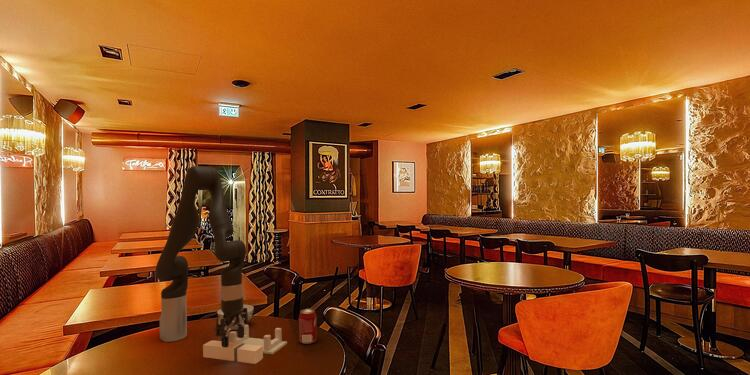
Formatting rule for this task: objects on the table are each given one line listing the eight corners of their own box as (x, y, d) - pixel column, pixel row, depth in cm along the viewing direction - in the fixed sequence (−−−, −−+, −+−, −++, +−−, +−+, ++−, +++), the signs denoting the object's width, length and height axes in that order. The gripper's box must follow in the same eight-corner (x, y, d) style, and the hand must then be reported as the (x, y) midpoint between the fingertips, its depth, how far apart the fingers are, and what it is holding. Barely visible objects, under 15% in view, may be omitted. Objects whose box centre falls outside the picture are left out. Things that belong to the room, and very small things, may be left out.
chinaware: (212, 327, 167) (212, 309, 167) (245, 319, 177) (245, 302, 177) (225, 336, 156) (225, 317, 156) (259, 327, 166) (259, 309, 166)
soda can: (313, 345, 144) (312, 314, 144) (296, 344, 145) (295, 313, 146) (319, 338, 151) (318, 308, 151) (303, 337, 152) (302, 308, 152)
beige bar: (203, 357, 136) (202, 344, 136) (211, 352, 140) (211, 339, 140) (255, 364, 129) (255, 350, 130) (263, 358, 134) (262, 345, 134)
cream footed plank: (224, 348, 143) (224, 332, 143) (241, 338, 153) (241, 323, 153) (272, 354, 137) (272, 337, 137) (287, 343, 146) (286, 328, 146)
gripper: (236, 291, 143) (237, 334, 143) (209, 301, 130) (210, 349, 129) (253, 292, 141) (254, 335, 141) (227, 302, 127) (228, 351, 127)
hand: (233, 342), depth 135 cm, fingers open, 8 cm apart
